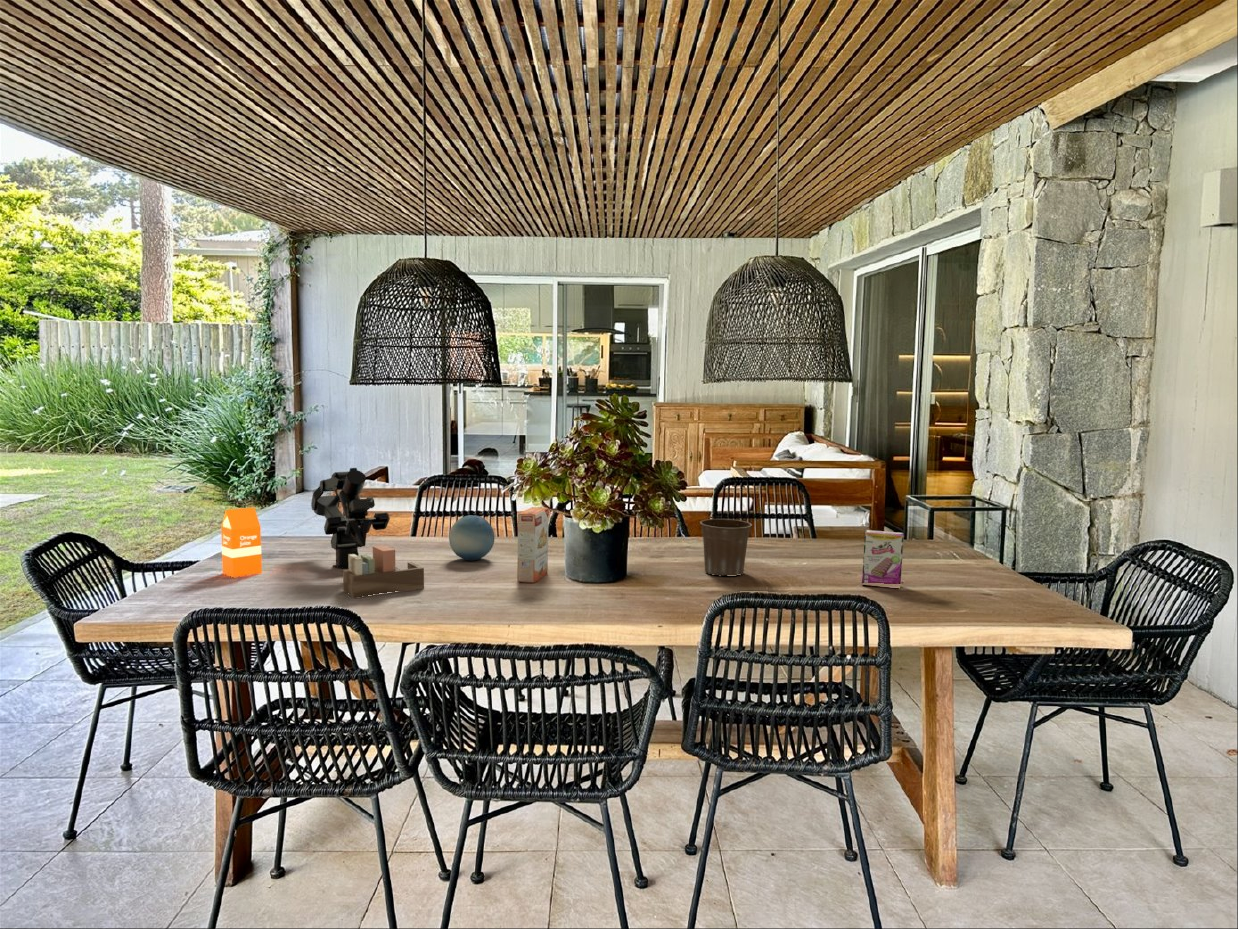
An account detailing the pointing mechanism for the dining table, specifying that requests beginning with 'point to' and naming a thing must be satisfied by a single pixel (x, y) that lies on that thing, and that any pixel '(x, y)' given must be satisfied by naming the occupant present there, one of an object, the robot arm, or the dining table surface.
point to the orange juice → (241, 542)
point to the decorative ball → (471, 537)
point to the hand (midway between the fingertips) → (363, 545)
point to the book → (384, 558)
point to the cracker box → (532, 544)
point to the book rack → (379, 577)
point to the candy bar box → (882, 557)
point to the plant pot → (725, 545)
